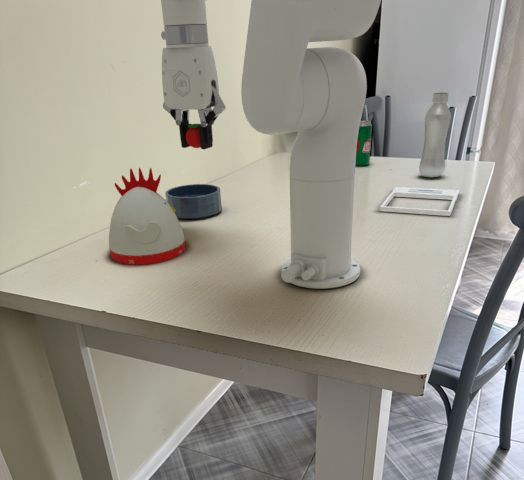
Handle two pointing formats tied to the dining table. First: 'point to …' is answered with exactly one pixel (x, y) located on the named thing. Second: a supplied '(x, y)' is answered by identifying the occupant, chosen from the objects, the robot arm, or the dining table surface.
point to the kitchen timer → (144, 224)
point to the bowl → (194, 200)
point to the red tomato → (193, 135)
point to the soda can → (363, 143)
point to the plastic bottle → (435, 137)
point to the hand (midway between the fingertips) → (197, 146)
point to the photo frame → (421, 194)
